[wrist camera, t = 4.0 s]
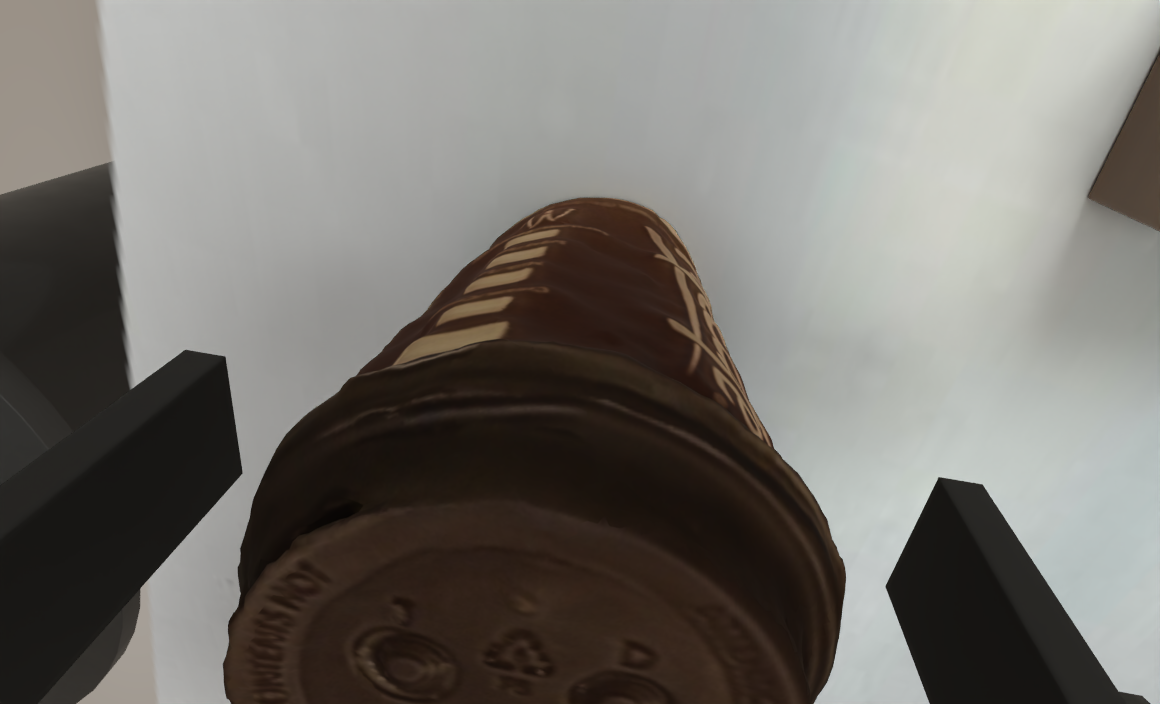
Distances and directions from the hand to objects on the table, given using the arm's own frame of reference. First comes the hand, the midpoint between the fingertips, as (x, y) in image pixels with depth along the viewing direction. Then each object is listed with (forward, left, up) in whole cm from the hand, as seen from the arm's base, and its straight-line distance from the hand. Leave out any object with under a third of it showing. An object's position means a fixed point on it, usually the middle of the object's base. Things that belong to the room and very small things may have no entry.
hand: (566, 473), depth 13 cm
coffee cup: (0, 0, -8) cm, 8 cm away
